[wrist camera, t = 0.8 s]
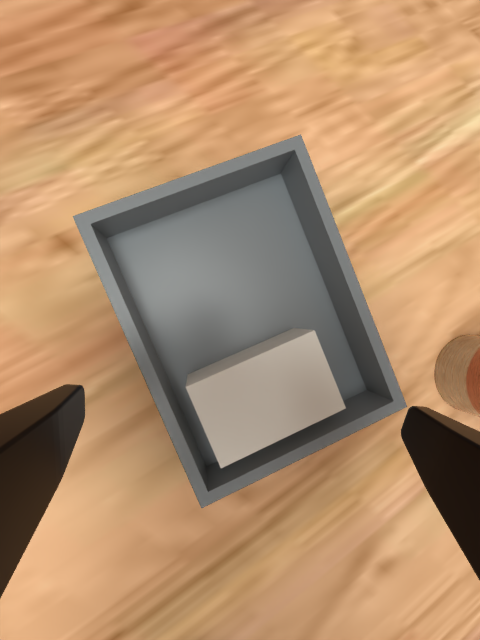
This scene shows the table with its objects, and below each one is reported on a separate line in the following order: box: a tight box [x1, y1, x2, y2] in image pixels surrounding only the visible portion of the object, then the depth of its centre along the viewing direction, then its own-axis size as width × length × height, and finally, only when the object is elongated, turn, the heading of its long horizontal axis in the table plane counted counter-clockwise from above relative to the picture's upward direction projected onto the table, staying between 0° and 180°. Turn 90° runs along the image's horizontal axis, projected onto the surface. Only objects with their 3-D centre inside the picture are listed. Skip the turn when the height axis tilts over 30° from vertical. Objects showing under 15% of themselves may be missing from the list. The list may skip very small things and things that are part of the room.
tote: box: [73, 135, 407, 508], centre depth 21 cm, size 18×14×4 cm
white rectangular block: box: [186, 328, 346, 468], centre depth 20 cm, size 5×8×4 cm, turn 113°
